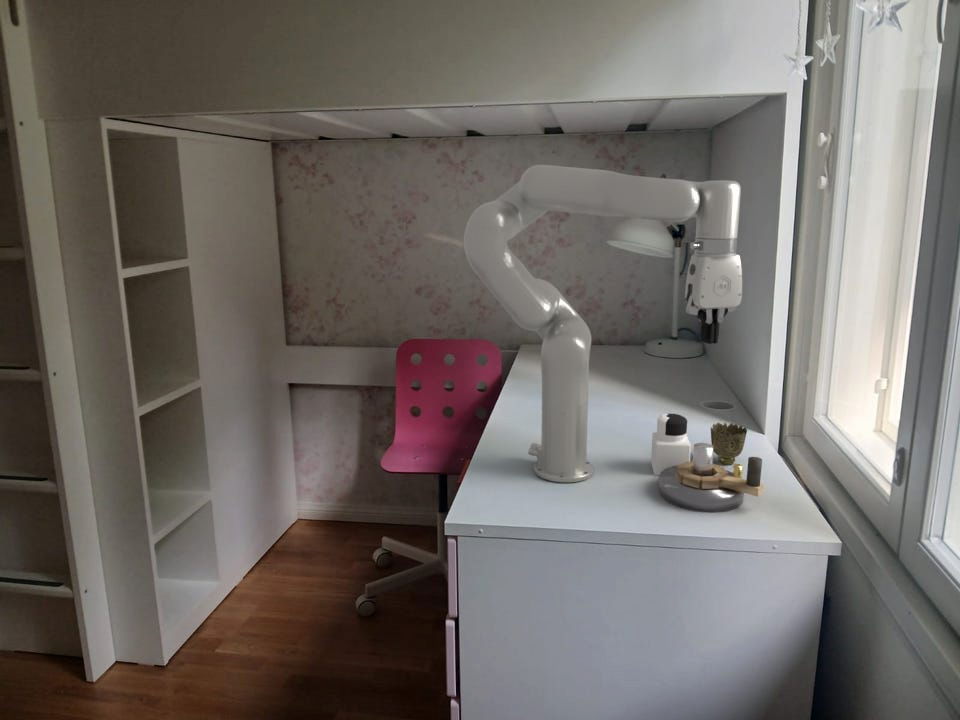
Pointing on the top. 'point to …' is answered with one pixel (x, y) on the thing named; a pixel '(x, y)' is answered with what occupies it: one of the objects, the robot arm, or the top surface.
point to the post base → (700, 497)
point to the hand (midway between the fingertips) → (709, 342)
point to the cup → (727, 441)
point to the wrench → (723, 478)
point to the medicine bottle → (670, 443)
